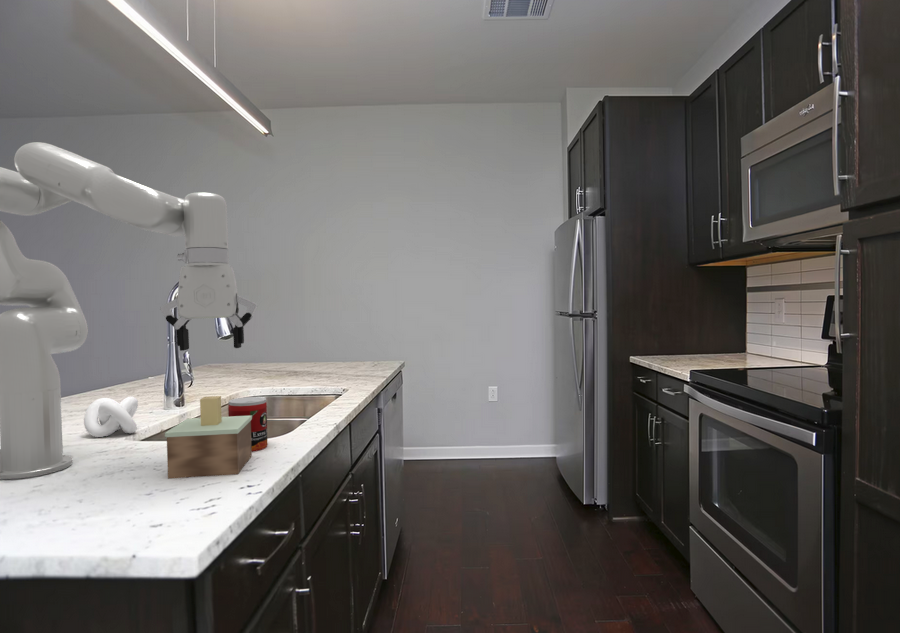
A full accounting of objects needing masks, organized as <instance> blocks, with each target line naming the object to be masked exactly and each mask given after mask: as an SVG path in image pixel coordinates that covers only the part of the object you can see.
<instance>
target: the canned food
mask: <svg viewBox="0 0 900 633" xmlns="http://www.w3.org/2000/svg"><path fill="white" fill-rule="evenodd" d="M227 405H228V406H227V407H228V408H227V409H228V410H227V414H228V416H227V417H230V416H251V415H252V420H251V450H252V453H255V452H258V451H261V450H264V449H266V448H268V406H267V405H268V404H267V398H266V397H262V396H245V397H243V396H242V397H236V398H233V399H230V400H228V403H227Z"/></svg>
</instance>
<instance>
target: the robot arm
mask: <svg viewBox="0 0 900 633" xmlns="http://www.w3.org/2000/svg"><path fill="white" fill-rule="evenodd" d="M13 162H14V167H15V168H16V170H17V171H15V170H12V169H9V168H5V167H2V166H0V212H2V213H8V214H13V215H18V216H27V217H29V216H36V215H39V214H43V213H44V212H48V211H50V210H53V209H55V208H57V207H58V208H59V207H60V206H62V205H65V204H67V203H70V202H72V201H73V202H75V203H78V204H81V205H83V206H85V207H87V208H90V209H91V210H93V211H96V212H98V213H100V214H103V215H105V216H108V217H110V218H112V219H114V220H117V221H119V222H122V223H124V224H127V225H130V226H132V227H134V228H138V229H140V230H143V231H148V232H153V233H158V234H162V235H166V236H171V237H183V236H184V246H185V247H184V249H183V252H181V253H177V257H176V258H177V261H179V262H184V264H185V266H184V265H183V266H182V265H181V267H180V272H179V277H178V279H179V280H178V287H177V288H178V290H177V297H176V298H174V299H173V300H170V301H169V302H167V303H165V304H162V305H161V306H160V308H159V310H160V311H161V313H162V315H163V317H164V318H165V321H167V323H169V324H170V325H171V326H172V327H173V329H175V330H176V342H177V343H176V346H177V347H179V350H180V351H182V352H183V351H188V350H189V349H190V340H189V338H190V337H189V336H190V335H189V329H188V328H187V326H188V324H189V323H190V322H191V320H195V319H196V320H198V319H200V320H201V319H203V320H204V319H224V318H228V319H229V320H230V321H231V322H232V323H233V324H234V327H233V328H232V329H233V330H232V333H233V334H232V335H233V348H234V349H240V348H242V344H244V343H245V334H244V333H245V332H244V330H245V329H244V327H245V326H246V324H248V322H249V321H250V320H251V319H252V318H253V316H254V314H255V312H256V310H257V308H258V304H257V303H256V302H254V301H251V300H249V299H247V298H245V297H242V296H241V295H239V294H238V286H237V280H236V275H235V271H234V267H233V265H230V258H229V231H228V212H227V211H228V208H227V207H228V206H227V201H226V199H225V197H224V196H222V195H220V194H218V193H213V192H205V191H204V192H198V191H197V192H191V193H188V194H187V195H185V196H184V198H181V197H177V196H173V195H172V194H170V193H169V194H168V193H166V192H164V191H160V190H157V189H154V188H151V187H149V186H146V185H143V184H142V183H141V184H140V183H138V182H136V181H133V180H131V179H129V178H125V177H123V176H122V175H118V174H116V173H115V172H114V171H113V169H112V168H110V167H108V166H106V165H103V164H102V163H99V162H96V161H93V160H91V159H88V158H86V157H83V156H81V155H79V154H77V153H74V152H73V151H69V150H66V149H65V148H61V147H58V146H57V145H53V144H51V143H47V142H40V141H38V142H36V141H35V142H28V143H25V144H23V145H22V146H20V147H19V148H18V149H17V150H16V152H15V154H14V158H13ZM72 287H73V286H71V283H70V281H69V280H68V277H67V276H66V274H65V273H64V272H63V271H62V270H61V269H60V268H59V267H58V266H57V265H55V264H54V263H51V262H48V261H47V260H46V261H45V260H40V259H31V258H28V257H26V256H24V254H23V253H22V251H21V250H20V247H19V246H18V244H17V241H16V238H15V237H14V234H13V233H12V231H11V230H10V229H9V227H8V226H7V225H6V224H5V223H4V222H3V221H2V220H1V219H0V306H15V308H13V309H12V308H11V309H9V310H6V311H3V312H1V313H0V480H17V479H26V478H34V477H38V476H39V477H40V476H42V475H48V474H52V473H55V472H58V471H62V470H64V469H65V470H66V469H67V468H68V467H69V468H70V466H72V464H73V462H74V461H73V457H72V456H71V455H66V454H63V452H64V451H63V448H64V447H63V421H62V418H63V417H62V394H61V393H62V392H61V390H62V388H61V377H60V372H59V369H58V366H57V364H56V362H55V360H54V358H53V356H52V355H54V354H64V353H69V352H73V351H76V350H78V349H79V348H81V347H82V346H83V345H84V343H85V342H86V340H87V337H88V333H89V332H88V331H89V330H88V329H89V328H88V322H87V320H86V317H85V314H84V313H83V309H82V308H81V305H80V303H79V301H78V298H77V296H76V293H75V292H74V290H73V288H72ZM240 305H242V306H244V307H246V308H247V309H246V311H245V313H244V314H243V315H242V316H240V315H239V312H240V310H239V309H240ZM16 306H19V307H17V308H16ZM20 306H21V307H20ZM22 306H25V307H22ZM26 306H28V307H26ZM175 308H177V313H178V316H179V318H177V316H175V315H174V313H173V312H172V311H173V309H175Z"/></svg>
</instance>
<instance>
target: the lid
mask: <svg viewBox="0 0 900 633" xmlns="http://www.w3.org/2000/svg"><path fill="white" fill-rule="evenodd" d="M199 406H200V408H199V409H200V417H195V418H193V417H191V418H186V419H184V420H183V421H182V422H180V423H178V424H176V425H174V426H173V427H172V428H171V429H169V430H167V431H165V433H164V437H165V438H167V437H181V436H200V435H219V434H238V433H239V432H240V431H241V430H242V429H243V428H244V427H245V426H246V425H247V424H248V423H249V422H250V421H251V420H252V415H251V416H230V417H229V416H222V415H223V414H222V396H221V395H217V396H216V395H214V396H213V395H212V396H203V397H201V398H199Z"/></svg>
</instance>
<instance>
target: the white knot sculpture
mask: <svg viewBox="0 0 900 633" xmlns="http://www.w3.org/2000/svg"><path fill="white" fill-rule="evenodd" d="M138 405H139V401H138V399H137V397H134V396H132V395H131V396H127V397H125V398H124V399H122V400H121V401H120V402H118V401H116V399H113V398H109V397H100V398H97V399H95V400H94V401H92V402H91V403H90V404H89V405H88V406H87V408H86V410H85V413H84V417H83V426H84V429H85V430H86V432H87V433H88V434H89V435H91V436H92V437H94V436H95V438H98V437H102V438H104V437H103V436H106V437H108V436H110V435H113V433H115V431H116V430H118V431H120V430H122V432H123V433H125V434H127V433H132V434H133V433H135V432H136V431H137V427H138V426H137V423H136V422H135V420H134V418H133V417H134V415H135V414H136V411H137V410H138V407H139V406H138ZM119 429H120V430H119ZM116 432H117V431H116Z"/></svg>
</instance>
